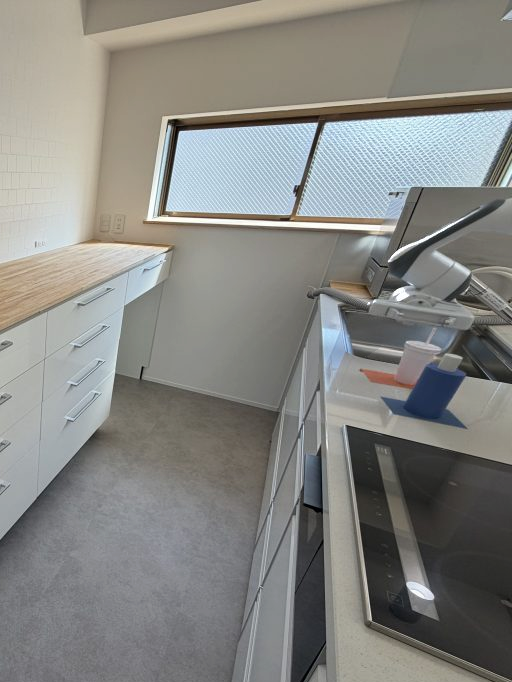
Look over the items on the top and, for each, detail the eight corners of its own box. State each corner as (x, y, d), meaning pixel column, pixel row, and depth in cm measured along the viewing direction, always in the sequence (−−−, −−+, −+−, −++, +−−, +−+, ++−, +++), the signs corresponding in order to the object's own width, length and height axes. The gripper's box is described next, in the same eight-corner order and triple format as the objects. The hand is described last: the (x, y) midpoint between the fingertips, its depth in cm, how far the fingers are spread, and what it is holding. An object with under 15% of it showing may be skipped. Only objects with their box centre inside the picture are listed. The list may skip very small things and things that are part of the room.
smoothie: (428, 387, 99) (459, 333, 93) (401, 386, 99) (431, 331, 93) (405, 376, 105) (433, 324, 99) (380, 375, 105) (407, 322, 99)
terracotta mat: (422, 381, 104) (423, 379, 104) (437, 395, 97) (438, 393, 97) (359, 370, 109) (360, 368, 109) (369, 383, 102) (370, 381, 101)
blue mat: (446, 411, 90) (448, 409, 90) (467, 431, 83) (468, 429, 83) (379, 398, 94) (380, 396, 94) (392, 415, 87) (393, 413, 87)
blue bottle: (433, 408, 90) (466, 353, 84) (445, 421, 85) (481, 364, 79) (398, 402, 92) (428, 348, 86) (409, 414, 87) (441, 357, 81)
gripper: (371, 291, 119) (376, 300, 109) (470, 304, 109) (485, 316, 98) (362, 312, 122) (366, 323, 112) (457, 327, 111) (470, 341, 101)
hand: (422, 320), depth 105 cm, fingers open, 8 cm apart
